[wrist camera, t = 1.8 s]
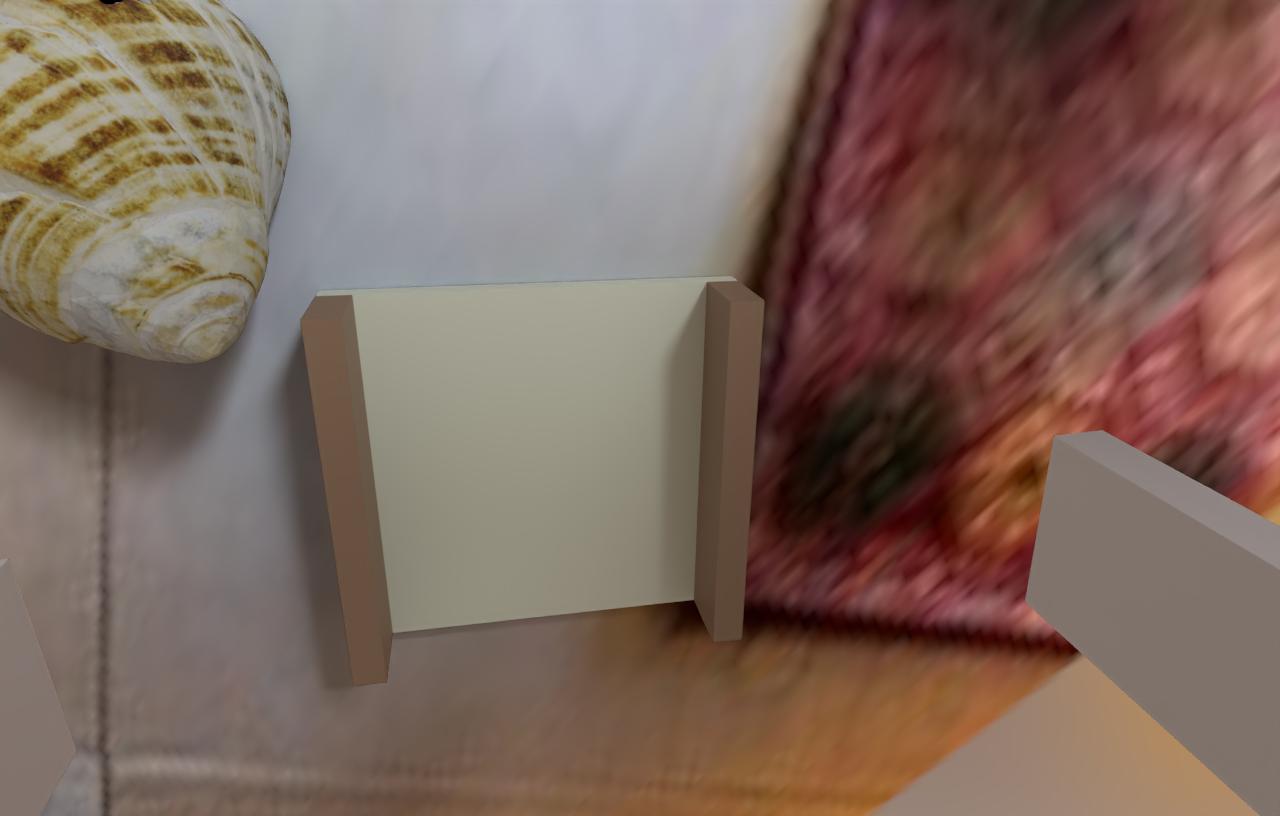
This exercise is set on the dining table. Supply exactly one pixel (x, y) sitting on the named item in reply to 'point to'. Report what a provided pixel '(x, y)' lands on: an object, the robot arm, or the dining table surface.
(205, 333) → the seashell
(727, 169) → the dining table surface
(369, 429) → the cradle
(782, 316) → the dining table surface
